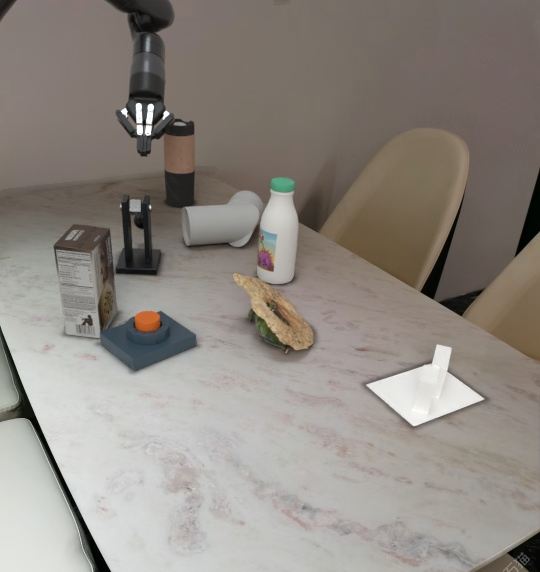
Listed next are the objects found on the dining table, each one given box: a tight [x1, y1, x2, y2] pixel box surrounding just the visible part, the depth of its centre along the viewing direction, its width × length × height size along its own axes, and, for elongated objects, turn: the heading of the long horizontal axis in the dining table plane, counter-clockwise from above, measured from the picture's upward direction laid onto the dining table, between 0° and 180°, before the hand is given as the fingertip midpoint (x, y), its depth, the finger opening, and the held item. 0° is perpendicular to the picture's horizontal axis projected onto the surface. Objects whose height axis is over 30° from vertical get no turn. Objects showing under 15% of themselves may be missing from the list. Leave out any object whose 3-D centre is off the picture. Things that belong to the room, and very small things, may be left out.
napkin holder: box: [365, 344, 485, 427], centre depth 91 cm, size 15×11×6 cm
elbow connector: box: [181, 190, 265, 248], centre depth 135 cm, size 18×11×20 cm
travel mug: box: [163, 118, 196, 208], centre depth 150 cm, size 8×8×20 cm
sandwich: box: [232, 272, 314, 354], centre depth 104 cm, size 18×14×8 cm
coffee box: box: [53, 223, 118, 339], centre depth 98 cm, size 9×6×16 cm
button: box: [134, 310, 160, 332], centre depth 96 cm, size 4×4×2 cm
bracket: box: [115, 193, 162, 276], centre depth 120 cm, size 10×8×14 cm
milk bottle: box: [256, 176, 299, 285], centre depth 117 cm, size 8×8×20 cm
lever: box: [129, 198, 144, 230], centre depth 122 cm, size 13×4×4 cm
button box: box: [99, 310, 197, 372], centre depth 97 cm, size 12×10×4 cm
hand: (143, 154), depth 126 cm, fingers closed
